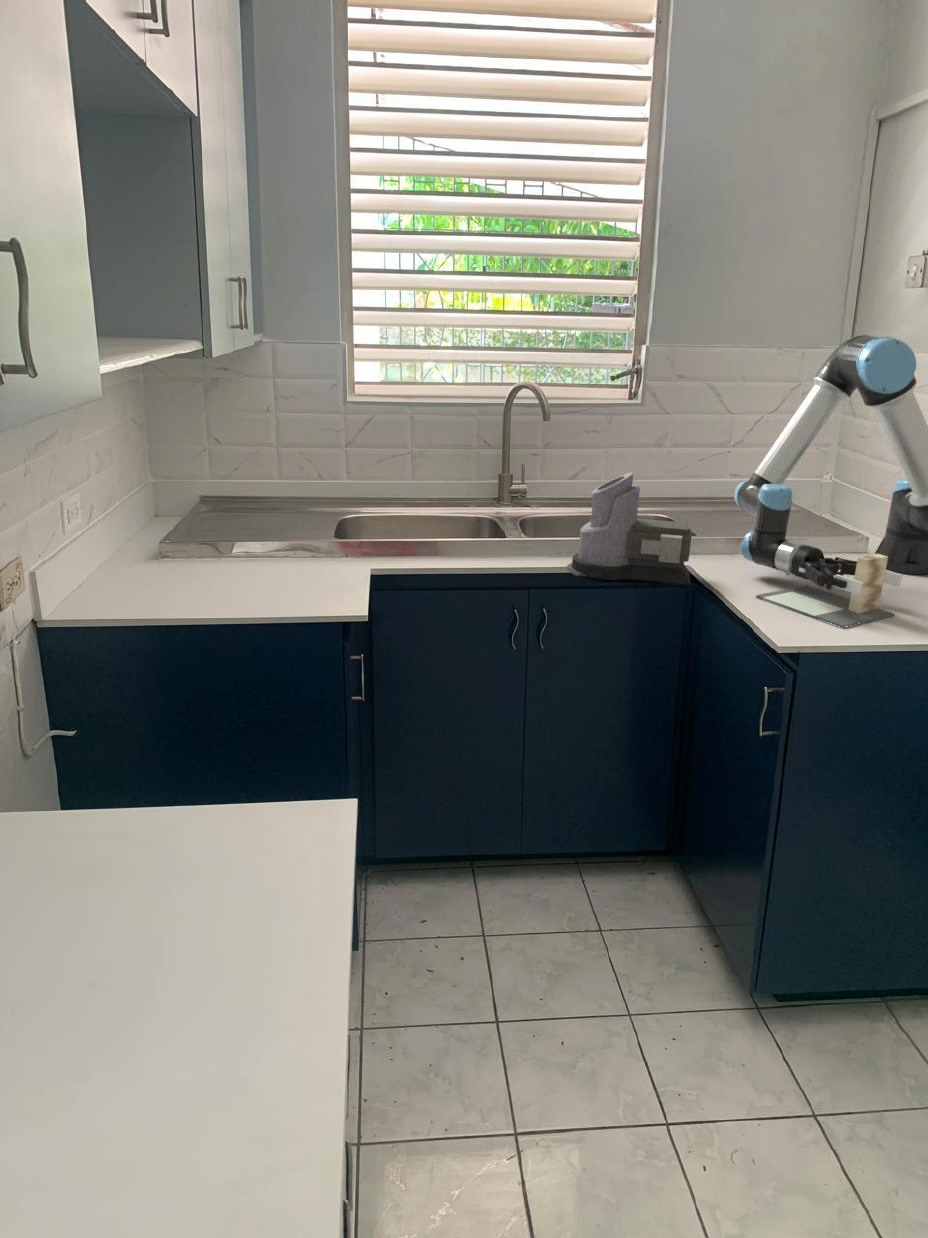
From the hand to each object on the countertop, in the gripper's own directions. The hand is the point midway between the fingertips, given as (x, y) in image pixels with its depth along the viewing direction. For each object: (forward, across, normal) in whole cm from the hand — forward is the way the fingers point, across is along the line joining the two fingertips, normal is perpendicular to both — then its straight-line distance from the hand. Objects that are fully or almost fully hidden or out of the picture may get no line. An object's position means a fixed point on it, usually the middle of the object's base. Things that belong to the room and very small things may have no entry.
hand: (881, 584), depth 201 cm
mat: (-10, +5, -7) cm, 13 cm away
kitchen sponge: (-3, 0, -1) cm, 3 cm away
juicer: (-50, +27, -8) cm, 57 cm away
